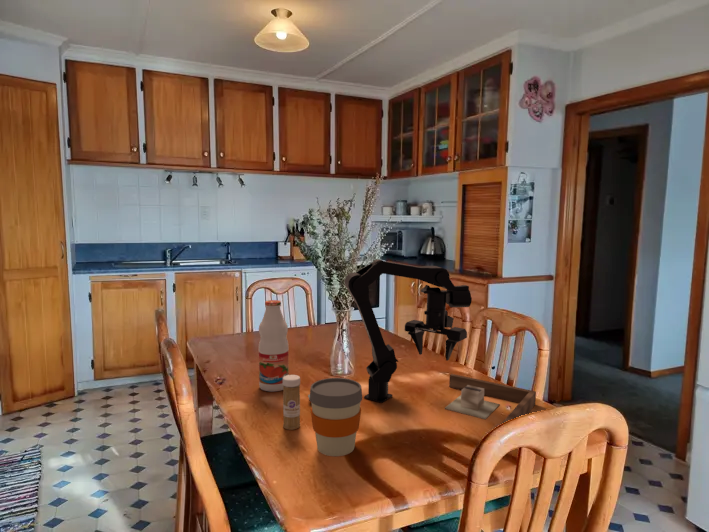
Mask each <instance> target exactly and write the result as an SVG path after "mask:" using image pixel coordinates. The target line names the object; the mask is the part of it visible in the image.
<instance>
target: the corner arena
mask: <svg viewBox="0 0 709 532" xmlns="http://www.w3.org/2000/svg"><path fill="white" fill-rule="evenodd" d="M448 382H449V385H448V386H449V387H448V388H453V389H457V390H462V389H463V388H465V387H466V386H467V385H471V386H475V387H480V388H484V396H488V397H493V398H496V399H501V400H506V401H510V402H514V403H518V404H517V405H516V406H515V407H514V408H513V409H512V411H511V412H510V413H509V414H508V415H507V416H506V417H505V419H504V420H503V421H502V422H501V423H500V425H501V424H502V423H504V422H506V421H508V420H511V419H514V418H516V417H519V416H521V415H525V414H527V413H528V414H529V413H530V412H531V411H532V409H533V408H534V407H535V405H536V397H537V391H536V390H530V389H525V388H522V387H517V386H512V385H507V384H502V383H498V382H492V381H487V380H483V379H478V378H473V377H468V376H463V375H459V374H456V373H455V374H454V373H451V374H449V381H448ZM499 406H500V403H496V402H493V401H488V400H485V399H484V405H483V406H482V407H481V408H480V409H479V410H478V411H476V410H472V409H468V408H464V407H461V394H460V395H459V396H458V397H456V398H455V399H454V400H452V401H451V402H450V403H448V405H446V406H445V407H444V410H449V411H453V412H456V413H461V414H463V415H468V416H471V417H475V418H479V419H481V420H482V419H483V420H486V419H488V418H489V416H491V414H492V413H493V412H494V411H495V410H496V409H498V407H499ZM528 414H527V415H528Z"/></svg>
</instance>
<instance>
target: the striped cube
mask: <svg viewBox="0 0 709 532" xmlns="http://www.w3.org/2000/svg"><path fill="white" fill-rule="evenodd" d="M460 390H461V389H460ZM460 392H461V393H460V395H461V407H464V408H468V409H472V410H476V411H478V410H479V409H480V408H481V407H482V406H483V405H484V400H485V395H484V388H480V387H475V386H471V385H467V386H466V387H465V388H463V389H462V390H461V391H460Z"/></svg>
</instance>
